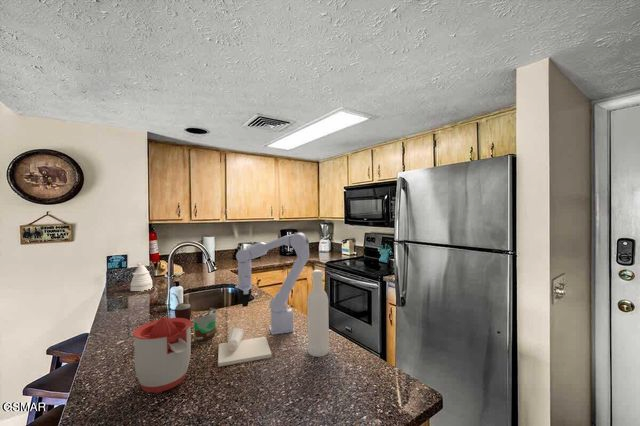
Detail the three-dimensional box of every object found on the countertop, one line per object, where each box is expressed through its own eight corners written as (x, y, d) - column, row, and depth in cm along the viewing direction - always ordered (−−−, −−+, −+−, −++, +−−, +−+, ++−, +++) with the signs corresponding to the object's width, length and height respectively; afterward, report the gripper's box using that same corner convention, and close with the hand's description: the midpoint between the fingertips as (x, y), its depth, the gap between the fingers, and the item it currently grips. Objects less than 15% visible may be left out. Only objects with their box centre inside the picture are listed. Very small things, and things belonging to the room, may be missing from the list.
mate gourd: (191, 317, 141) (191, 287, 141) (189, 323, 133) (189, 291, 133) (175, 319, 138) (174, 288, 138) (172, 325, 131) (172, 293, 131)
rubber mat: (265, 339, 115) (265, 336, 115) (271, 357, 101) (271, 353, 101) (218, 346, 109) (218, 343, 109) (218, 366, 95) (218, 363, 95)
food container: (207, 343, 112) (206, 318, 112) (193, 342, 113) (192, 317, 113) (223, 331, 124) (223, 308, 124) (210, 330, 125) (210, 307, 125)
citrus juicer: (154, 408, 75) (153, 333, 75) (123, 387, 84) (122, 320, 84) (206, 378, 88) (205, 314, 88) (174, 363, 97) (173, 305, 97)
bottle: (304, 354, 102) (303, 272, 102) (312, 345, 109) (311, 268, 109) (324, 358, 99) (323, 273, 99) (332, 348, 106) (331, 269, 106)
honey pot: (125, 291, 190) (125, 264, 190) (140, 286, 203) (140, 261, 203) (142, 292, 188) (142, 265, 188) (156, 287, 201) (156, 261, 201)
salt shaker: (240, 342, 113) (235, 357, 102) (227, 338, 112) (221, 352, 101) (245, 329, 113) (241, 343, 102) (232, 325, 112) (227, 338, 102)
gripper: (234, 273, 130) (235, 302, 130) (236, 280, 117) (236, 312, 117) (250, 271, 133) (250, 300, 133) (253, 278, 119) (253, 310, 119)
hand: (245, 306), depth 125 cm, fingers closed
